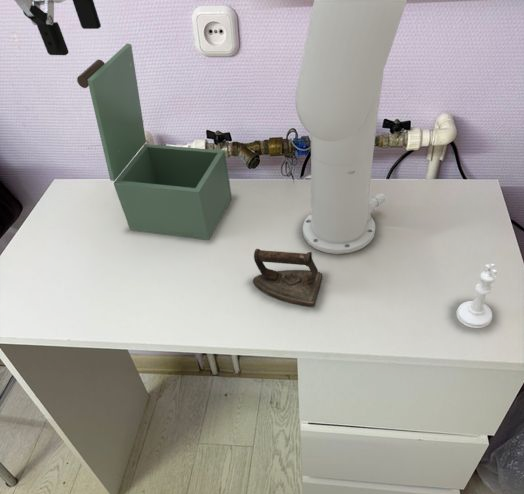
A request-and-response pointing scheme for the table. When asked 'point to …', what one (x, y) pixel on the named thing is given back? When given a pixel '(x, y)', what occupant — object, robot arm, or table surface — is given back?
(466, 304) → the chess piece
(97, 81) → the bin lid
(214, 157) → the bin
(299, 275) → the clothes iron
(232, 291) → the table surface
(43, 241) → the table surface
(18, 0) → the robot arm
